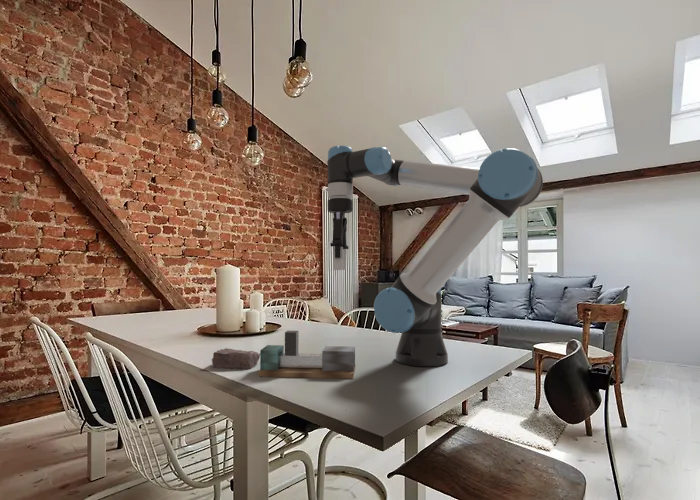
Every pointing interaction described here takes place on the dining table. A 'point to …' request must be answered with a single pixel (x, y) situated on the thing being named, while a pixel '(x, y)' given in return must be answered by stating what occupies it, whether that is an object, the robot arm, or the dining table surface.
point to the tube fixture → (333, 366)
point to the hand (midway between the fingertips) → (340, 270)
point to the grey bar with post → (297, 354)
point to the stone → (235, 359)
